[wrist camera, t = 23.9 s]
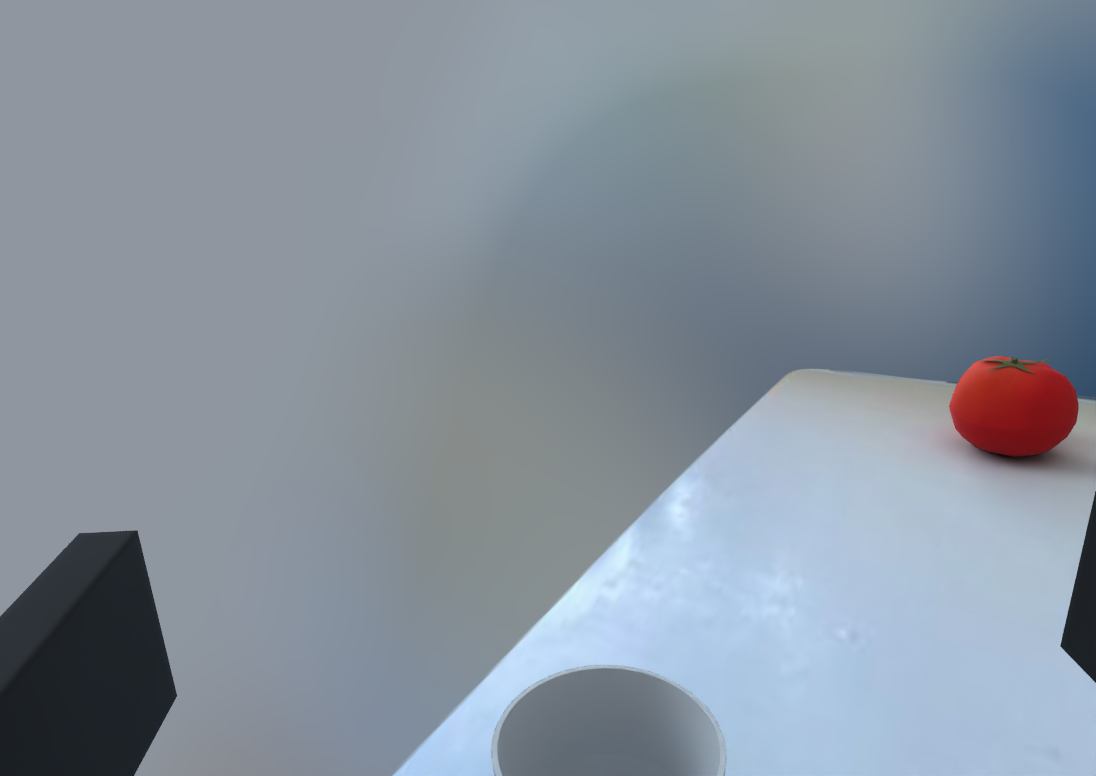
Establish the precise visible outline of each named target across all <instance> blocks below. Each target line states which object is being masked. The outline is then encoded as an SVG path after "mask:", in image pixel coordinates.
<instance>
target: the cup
mask: <svg viewBox="0 0 1096 776" xmlns="http://www.w3.org/2000/svg"><path fill="white" fill-rule="evenodd" d="M491 753H492V763H493V770H494V776H724V775H725V767H726V746H725V741H724V737H723V734H722V731H721V729H720V726H719V724H718V722H717V721H716V719H715V717H714V716H713V714H712V713H711V712H710V710H709V709H708V708H707V707H706V706H705V704H704V703H703V702H702V701H701V700H700V699H699V698H697V697H696V696H695V695H694V694H693V693H691V692H690V691H689V690H687V689H686V688H684V687H683V686H681V685H680V684H678V683H676V682H674V681H672V680H670V679H668V678H666V677H664V676H661V675H659V674H656V673H653V672H650V671H646V670H642V669H638V668H633V667H627V666H618V665H593V666H584V667H578V668H573V669H569V670H565V671H562V672H558V673H556V674H553V675H550V676H548V677H546V678H544V679H542V680H540V681H538V682H536V683H534V684H533V685H531V686H530V687H528V688H527V689H525V690H524V691H523V692H522V693H520V694H519V695H518V696H517V697H516V698H515V699H514V700H513V701H512V702H511V703H510V704H509V705H508V707H507V708H506V709H505V711H504V712H503V714H502V715H501V717H500V719H499V721H498V723H497V726H496V728H495V731H494V735H493V739H492V750H491Z"/></svg>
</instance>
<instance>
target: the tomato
mask: <svg viewBox="0 0 1096 776" xmlns="http://www.w3.org/2000/svg"><path fill="white" fill-rule="evenodd" d="M1047 360H1050V359H1046V360H1041V361H1024V360H1018V358H1014V357H1013V358H1007V357H990V358H987V359H985V360H981V361H978V362H975V363H974V364H973V365H972V366H971V367H970V368H969V369H968V370H967V371H966V372H965V373H964V375H963V376H962V377H961V379H960V381H959V383H958V384H957V386H956V388H955V390H954V393H953V395H952V399H951V402H950V406H949V407H950V412H951V416H952V419H953V422H954V425H955V428H956V429H957V431H958V432H959V433H960V434H961V436H962V437H964V438H965V439H966V440H968V441H969V442H970V443H971V444H973V445H974V446H975V447H978V448H980V449H983V450H985V451H990V452H994V453H999V454H1003V455H1008V456H1012V457H1015V456H1028V455H1037V454H1040V453H1043V452H1046V451H1049V450H1050V449H1052V448H1053V447H1055V446H1056V445H1057V444H1059V443H1060V442H1061V441H1062V440H1064V439H1065V438H1066V437H1067V436H1068V435H1069V433H1070V432H1071V430H1072V429H1073V427H1074V425H1075V424H1076V421H1077V415H1078V399H1077V395H1076V390H1075V389H1074V387H1073V386H1072V384H1071V383H1070V382H1069V380H1068V379H1067V377H1066V376H1064V375H1062V374H1061V373H1059V372H1057V371H1055V370H1053V369H1052V368H1051V367H1050V366H1049V365H1048V364H1046V363H1040V362H1043V361H1047Z"/></svg>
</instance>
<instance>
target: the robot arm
mask: <svg viewBox="0 0 1096 776" xmlns="http://www.w3.org/2000/svg"><path fill="white" fill-rule="evenodd" d="M1061 647H1062V648H1063V649H1064V650H1065V652H1066V653H1067V654H1068V655H1069V656H1070V657H1071V658H1072V659H1073V660H1074V661H1075V662H1076V663H1077V664H1078V665H1079V666H1080V667H1081V668H1082V669H1083V670H1084V671H1085V672H1086V673H1087V674H1088V675H1089V676H1090V677H1091V678H1092V679H1093V680H1094V681H1095V682H1096V492H1095V496H1094V501H1093V505H1092V509H1091V514H1090V518H1089V523H1088V527H1087V531H1086V536H1085V540H1084V545H1083V549H1082V553H1081V558H1080V562H1079V567H1078V571H1077V575H1076V580H1075V584H1074V589H1073V593H1072V597H1071V602H1070V606H1069V611H1068V615H1067V619H1066V624H1065V628H1064V633H1063V637H1062V641H1061ZM176 697H177V694H176V690H175V685H174V681H173V677H172V674H171V669H170V665H169V661H168V656H167V652H166V648H165V644H164V640H163V636H162V631H161V627H160V623H159V619H158V615H157V610H156V606H155V602H154V598H153V594H152V590H151V586H150V582H149V577H148V573H147V569H146V565H145V561H144V556H143V553H142V548H141V544H140V540H139V536H138V531H120V532H119V531H118V532H99V533H79V534H78V535H77V536H76V538H74V540H73V541H72V542H71V543H70V544H69V545H68V546H67V547H66V548H65V549H64V550H63V551H62V552H61V553H60V554H59V555H58V557H56V559H55V560H54V561H53V562H52V563H51V564H50V565H49V566H48V567H47V568H46V569H45V570H44V571H43V572H42V573H41V575H39V576H38V578H37V579H36V580H35V581H34V582H33V583H32V584H31V585H30V586H29V587H28V588H27V589H26V590H25V591H24V592H23V593H22V594H21V595H20V597H19V598H18V599H17V600H16V601H15V602H14V603H13V604H12V605H11V606H10V607H9V608H8V609H7V610H6V611H5V612H4V613H3V614H2V615H1V616H0V776H134V774H135V772H136V771H137V769H138V767H139V765H140V763H141V762H142V760H143V758H144V756H145V754H146V752H147V750H148V749H149V747H150V745H151V743H152V741H153V739H154V737H155V736H156V734H157V732H158V730H159V728H160V726H161V725H162V723H163V721H164V719H165V717H166V715H167V713H168V712H169V710H170V708H171V706H172V704H173V702H174V700H175V699H176Z"/></svg>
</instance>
